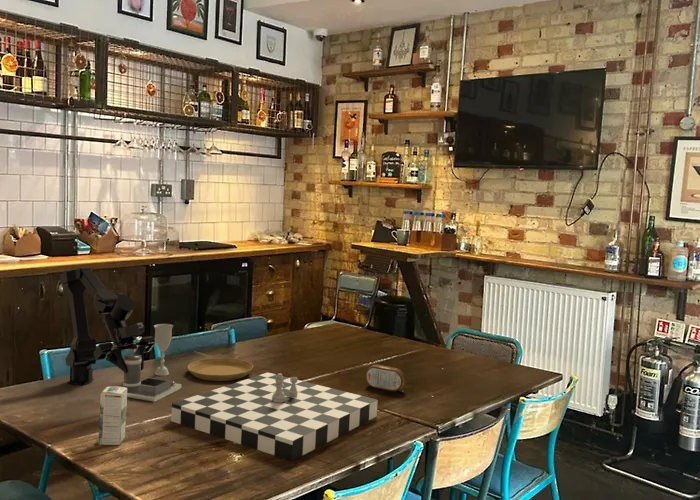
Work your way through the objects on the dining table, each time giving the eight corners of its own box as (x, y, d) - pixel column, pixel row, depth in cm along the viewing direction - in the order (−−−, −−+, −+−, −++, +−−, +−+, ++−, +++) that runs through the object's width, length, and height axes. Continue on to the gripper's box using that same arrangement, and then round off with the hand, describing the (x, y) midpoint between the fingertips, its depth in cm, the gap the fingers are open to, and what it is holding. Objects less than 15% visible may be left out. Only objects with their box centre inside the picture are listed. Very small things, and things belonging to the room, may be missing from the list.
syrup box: (104, 437, 182) (105, 385, 181) (126, 437, 183) (127, 386, 181) (98, 445, 176) (99, 392, 175) (120, 445, 177) (122, 393, 176)
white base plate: (125, 396, 216) (125, 384, 216) (153, 383, 232) (153, 372, 231) (154, 401, 213) (154, 389, 213) (181, 388, 228) (181, 377, 228)
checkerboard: (291, 462, 174) (294, 408, 172) (171, 422, 197) (172, 374, 196) (376, 417, 212) (379, 372, 210) (267, 388, 235) (268, 348, 234)
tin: (404, 391, 240) (406, 369, 239) (401, 393, 237) (403, 371, 236) (367, 384, 246) (368, 362, 245) (363, 386, 243) (365, 364, 242)
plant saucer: (174, 376, 242) (174, 368, 242) (211, 362, 265) (211, 354, 264) (230, 387, 233) (230, 378, 233) (264, 371, 256) (264, 363, 255)
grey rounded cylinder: (119, 392, 203) (120, 357, 202) (127, 387, 208) (128, 353, 207) (136, 394, 203) (137, 358, 202) (143, 389, 208) (144, 354, 207)
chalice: (165, 377, 240) (167, 328, 238) (148, 375, 241) (150, 326, 240) (175, 372, 247) (176, 324, 246) (158, 370, 249) (159, 323, 247)
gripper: (98, 317, 199) (116, 361, 193) (154, 311, 213) (172, 352, 207) (85, 338, 205) (102, 381, 199) (140, 331, 219) (157, 371, 213)
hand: (134, 370), depth 204 cm, fingers closed on grey rounded cylinder, 5 cm apart
